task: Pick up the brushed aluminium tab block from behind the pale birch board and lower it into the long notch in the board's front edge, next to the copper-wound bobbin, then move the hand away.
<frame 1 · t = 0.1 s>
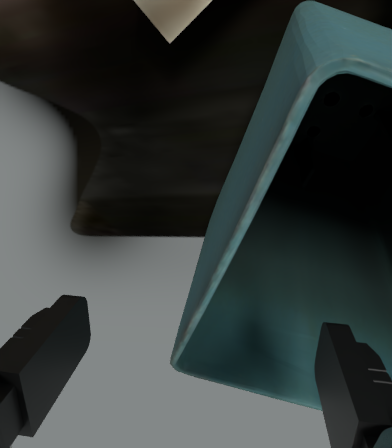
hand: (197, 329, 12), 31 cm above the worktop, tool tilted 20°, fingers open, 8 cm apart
flower pot: (326, 97, 37), on the worktop
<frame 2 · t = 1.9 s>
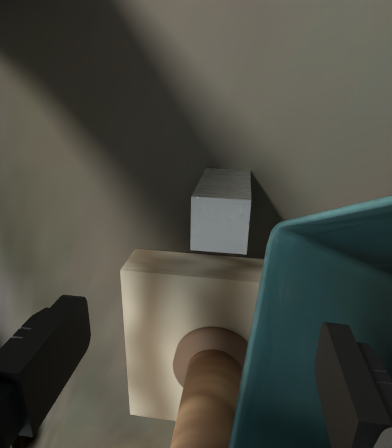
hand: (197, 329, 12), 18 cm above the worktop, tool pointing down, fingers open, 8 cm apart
tab peg: (226, 190, 28), on the worktop
notched board: (282, 336, 32), on the worktop
bobbin: (215, 360, 29), resting on notched board
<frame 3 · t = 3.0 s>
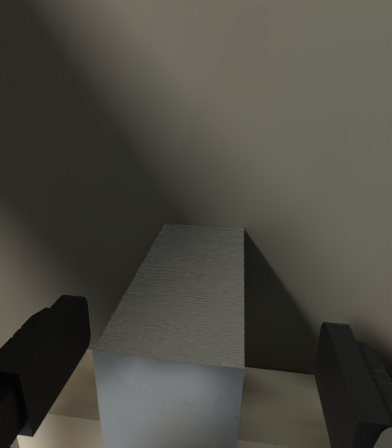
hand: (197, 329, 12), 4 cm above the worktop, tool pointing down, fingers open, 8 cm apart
tab peg: (202, 260, 16), on the worktop
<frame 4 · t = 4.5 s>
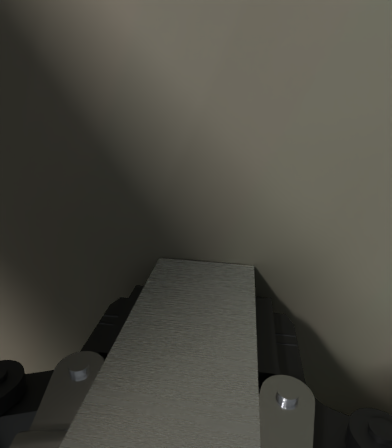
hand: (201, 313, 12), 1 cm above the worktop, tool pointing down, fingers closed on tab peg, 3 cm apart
tab peg: (204, 301, 13), on the worktop, touching gripper
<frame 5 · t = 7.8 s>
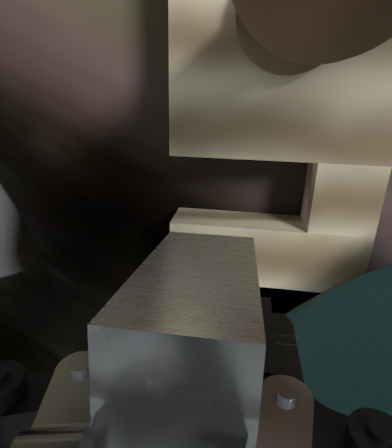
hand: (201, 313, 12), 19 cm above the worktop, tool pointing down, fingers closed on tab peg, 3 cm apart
tab peg: (209, 273, 15), point 17 cm above the worktop, tilted 9°, touching gripper
flower pot: (250, 442, 33), point 6 cm above the worktop, touching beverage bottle, notched board
notched board: (276, 111, 27), on the worktop
bobbin: (291, 15, 22), resting on notched board
when the fingers open (3 cm above the worktop, at t = 11.0 s): tab peg stays where it is, resting in notched board.
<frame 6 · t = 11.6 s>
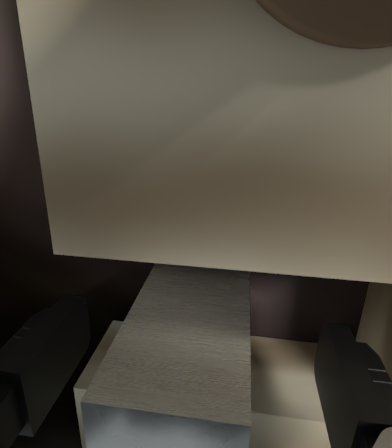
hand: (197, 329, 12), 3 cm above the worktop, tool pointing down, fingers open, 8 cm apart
tab peg: (205, 282, 15), resting in notched board
notched board: (312, 140, 12), on the worktop
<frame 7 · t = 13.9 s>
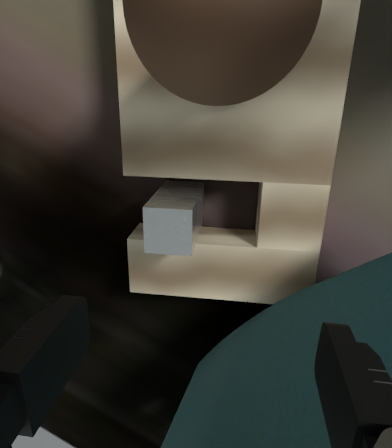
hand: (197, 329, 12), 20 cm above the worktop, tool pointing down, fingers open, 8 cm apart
tab peg: (185, 200, 32), resting in notched board
notched board: (227, 131, 29), on the worktop
bobbin: (230, 46, 23), resting on notched board
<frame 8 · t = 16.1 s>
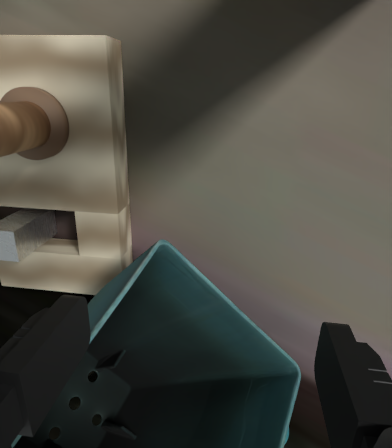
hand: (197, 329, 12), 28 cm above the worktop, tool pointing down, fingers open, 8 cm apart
tab peg: (42, 219, 43), resting in notched board
flower pot: (70, 402, 46), point 6 cm above the worktop, touching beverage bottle, notched board
notched board: (63, 172, 41), on the worktop
bobbin: (36, 123, 35), resting on notched board
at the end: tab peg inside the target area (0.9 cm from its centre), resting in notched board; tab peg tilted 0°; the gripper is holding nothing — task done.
